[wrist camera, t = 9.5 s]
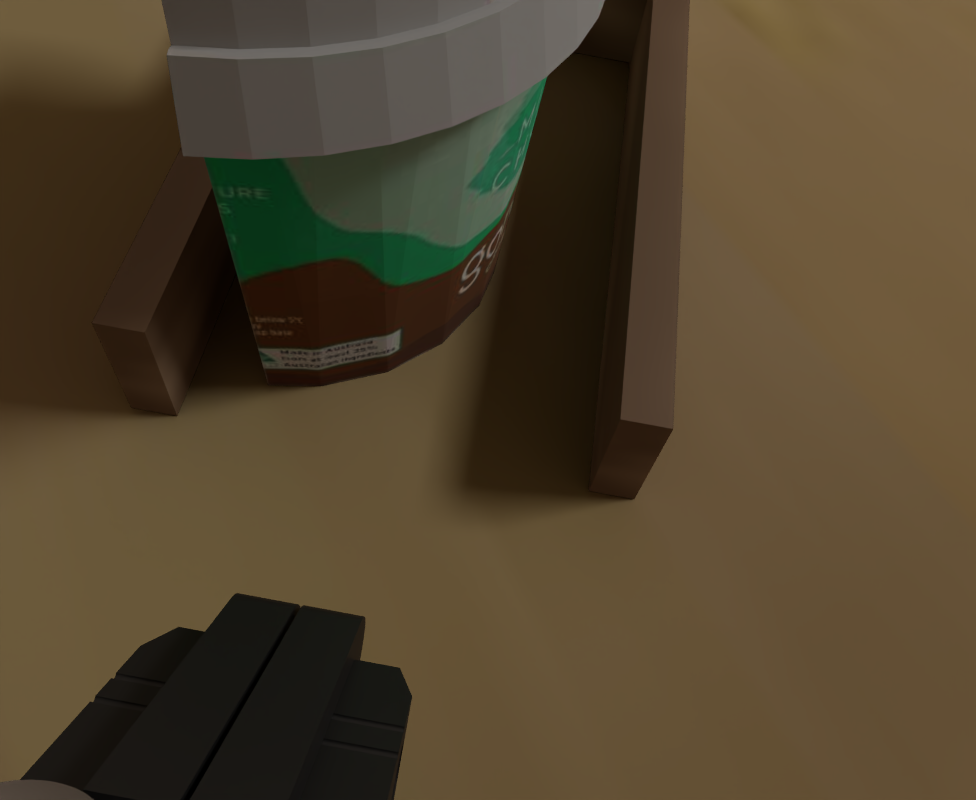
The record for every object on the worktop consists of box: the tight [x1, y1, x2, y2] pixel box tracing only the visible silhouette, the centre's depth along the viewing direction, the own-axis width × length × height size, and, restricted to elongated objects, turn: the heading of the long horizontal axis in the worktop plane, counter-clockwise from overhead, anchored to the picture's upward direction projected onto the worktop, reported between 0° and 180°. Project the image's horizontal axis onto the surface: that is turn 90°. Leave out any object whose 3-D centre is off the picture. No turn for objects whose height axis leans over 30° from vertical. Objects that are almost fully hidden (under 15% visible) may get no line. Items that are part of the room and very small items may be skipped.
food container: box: [162, 0, 605, 386], centre depth 18 cm, size 12×6×10 cm, turn 177°
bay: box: [92, 0, 690, 499], centre depth 22 cm, size 11×16×3 cm
